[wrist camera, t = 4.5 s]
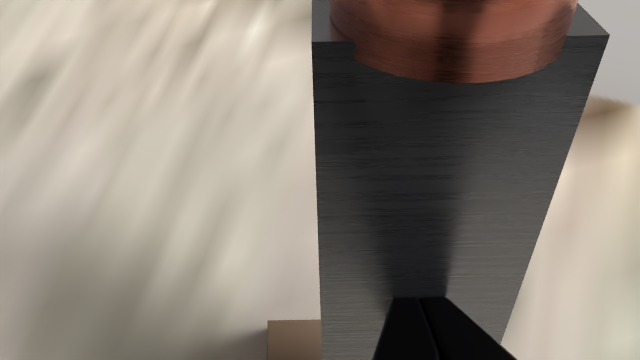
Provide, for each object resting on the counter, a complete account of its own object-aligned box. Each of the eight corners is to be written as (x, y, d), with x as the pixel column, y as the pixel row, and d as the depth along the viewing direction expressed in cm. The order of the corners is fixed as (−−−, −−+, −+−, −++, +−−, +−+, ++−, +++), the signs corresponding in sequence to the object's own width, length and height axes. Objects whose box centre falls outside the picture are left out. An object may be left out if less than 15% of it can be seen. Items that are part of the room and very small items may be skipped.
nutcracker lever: (465, 484, 11) (729, -173, 4) (326, 486, 11) (303, -162, 4) (443, 372, 13) (583, -203, 6) (324, 374, 13) (307, -196, 6)
